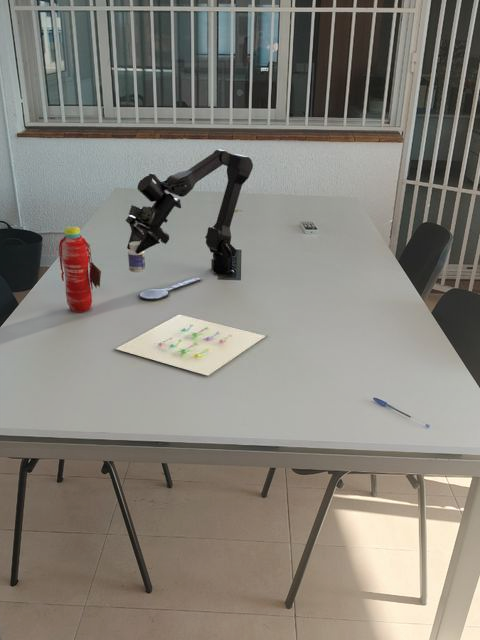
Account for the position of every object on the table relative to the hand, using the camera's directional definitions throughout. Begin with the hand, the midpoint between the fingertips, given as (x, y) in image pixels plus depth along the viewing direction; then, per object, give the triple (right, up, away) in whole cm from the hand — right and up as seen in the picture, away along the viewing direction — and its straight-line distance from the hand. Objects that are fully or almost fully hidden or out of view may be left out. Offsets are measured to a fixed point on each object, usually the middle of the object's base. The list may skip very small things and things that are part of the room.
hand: (132, 251), depth 224 cm
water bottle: (-13, -20, -8) cm, 25 cm away
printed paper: (+20, -33, -30) cm, 49 cm away
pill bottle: (+1, -5, +4) cm, 7 cm away
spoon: (+12, -11, +8) cm, 18 cm away
